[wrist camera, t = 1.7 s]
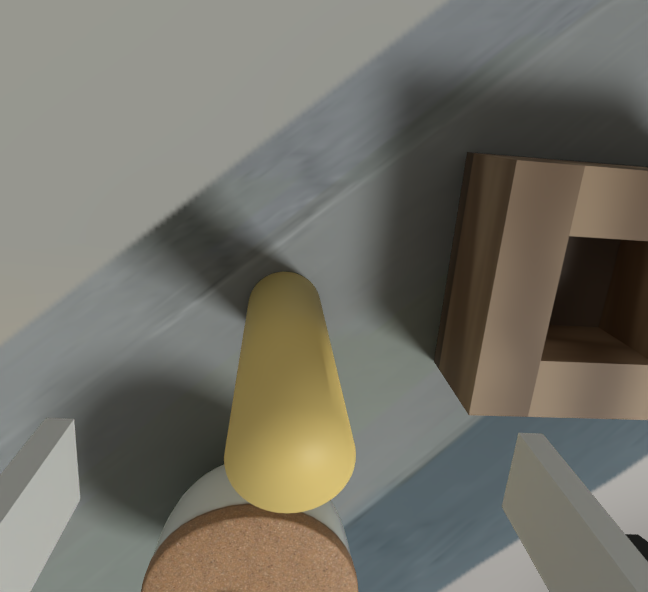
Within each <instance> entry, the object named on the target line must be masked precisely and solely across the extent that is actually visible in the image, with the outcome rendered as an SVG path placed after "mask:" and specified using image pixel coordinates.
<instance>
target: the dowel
mask: <svg viewBox="0 0 648 592" xmlns="http://www.w3.org/2000/svg"><path fill="white" fill-rule="evenodd" d="M355 460H356V451H355V444H354V440H353V436H352V432H351V427H350V423H349V419H348V415H347V411H346V406H345V402H344V398H343V394H342V390H341V386H340V381H339V377H338V373H337V369H336V365H335V360H334V356H333V352H332V348H331V344H330V340H329V335H328V331H327V327H326V323H325V319H324V314H323V310H322V306H321V302H320V298H319V294H318V292H317V290H316V288H315V287H314V286H313V284H312V283H311V282H310V281H309V280H308V279H306V278H305V277H303V276H301V275H299V274H296V273H292V272H277V273H273V274H270V275H268V276H266V277H265V278H263V279H262V280H260V281H259V282H258V283H257V284H256V286H255V287H254V288H253V290H252V292H251V295H250V298H249V303H248V309H247V315H246V321H245V328H244V334H243V340H242V347H241V353H240V359H239V365H238V372H237V378H236V384H235V390H234V397H233V403H232V409H231V415H230V422H229V428H228V434H227V440H226V447H225V454H224V466H225V471H226V474H227V477H228V480H229V481H230V483H231V485H232V487H233V488H234V489H235V491H236V492H237V493H238V494H239V495H240V496H241V497H242V498H244V499H245V500H246V501H248V502H249V503H251V504H252V505H254V506H256V507H259V508H261V509H264V510H267V511H271V512H277V513H298V512H304V511H308V510H311V509H314V508H317V507H319V506H321V505H323V504H325V503H327V502H328V501H330V500H331V499H333V498H334V497H335V496H336V495H337V494H338V493H339V492H340V491H341V490H342V489H343V488H344V487H345V485H346V484H347V482H348V481H349V479H350V477H351V475H352V472H353V469H354V466H355Z"/></svg>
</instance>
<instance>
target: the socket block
mask: <svg viewBox="0 0 648 592" xmlns="http://www.w3.org/2000/svg"><path fill="white" fill-rule="evenodd" d="M434 362H435V364H436V365H437V367H438V368H439V370H440V372H441V373H442V375H443V376H444V378H445V379H446V381H447V382H448V384H449V385H450V387H451V388H452V390H453V391H454V393H455V395H456V396H457V398H458V399H459V401H460V402H461V404H462V405H463V407H464V408H465V410H466V411H467V413H468V414H469V415H486V416H522V417H559V418H595V419H632V420H648V167H641V166H629V165H617V164H605V163H593V162H580V161H568V160H556V159H544V158H532V157H519V156H507V155H495V154H483V153H471V152H467V157H466V163H465V170H464V176H463V182H462V188H461V195H460V201H459V207H458V213H457V220H456V226H455V232H454V239H453V245H452V251H451V257H450V264H449V270H448V276H447V282H446V289H445V295H444V301H443V308H442V314H441V320H440V326H439V333H438V339H437V345H436V351H435V358H434Z"/></svg>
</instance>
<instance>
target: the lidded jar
mask: <svg viewBox="0 0 648 592" xmlns="http://www.w3.org/2000/svg"><path fill="white" fill-rule="evenodd" d="M141 592H358V583H357V576H356V572H355V568H354V565H353V561H352V558H351V555H350V550H349V546H348V541H347V538H346V534H345V531H344V528H343V525H342V522H341V519H340V517H339V515H338V513H337V511H336V509H335V507H334V505H333V503H332V501H331V500H330V501H328V502H327V503H325V504H323V505H321V506H319V507H317V508H314V509H311V510H308V511H304V512H298V513H277V512H271V511H267V510H264V509H261V508H259V507H256V506H254V505H252V504H251V503H249V502H248V501H246V500H245V499H244V498H242V497H241V496H240V495H239V494H238V493H237V492H236V491H235V489H234V488H233V487H232V485H231V483H230V481H229V480H228V477H227V474H226V471H225V466H224V465H222V466H219V467H217V468H215V469H213V470H212V471H210V472H208V473H207V474H205V475H204V476H202V477H201V478H200V479H199V480H198V481H196V482H195V483H194V484H193V485H192V486H191V487H190V488H189V489H188V490H187V491H186V492H185V494H184V495H183V496H182V497H181V498H180V500H179V502H178V503H177V505H176V506H175V508H174V509H173V511H172V512H171V514H170V516H169V517H168V519H167V522H166V524H165V526H164V528H163V530H162V533H161V535H160V538H159V540H158V543H157V546H156V549H155V552H154V555H153V557H152V559H151V561H150V564H149V566H148V569H147V571H146V574H145V577H144V580H143V584H142V589H141Z"/></svg>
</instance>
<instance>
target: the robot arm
mask: <svg viewBox="0 0 648 592" xmlns="http://www.w3.org/2000/svg"><path fill="white" fill-rule="evenodd" d="M79 501H80V489H79V476H78V463H77V450H76V437H75V424H74V419H61V418H46V419H45V420H44V421H43V422H42V424H41V425H40V426H39V427H38V428H37V430H36V431H35V432H34V433H33V435H32V436H31V437H30V438H29V440H28V441H27V442H26V443H25V445H24V446H23V447H22V448H21V450H20V451H19V452H18V453H17V455H16V456H15V457H14V458H13V460H12V461H11V462H10V463H9V465H8V466H7V467H6V468H5V470H4V471H3V472H2V473H1V475H0V592H30V591H31V590H32V588H33V586H34V584H35V582H36V580H37V579H38V577H39V575H40V573H41V571H42V569H43V567H44V566H45V564H46V562H47V560H48V558H49V556H50V554H51V553H52V551H53V549H54V547H55V545H56V543H57V541H58V540H59V538H60V536H61V534H62V532H63V530H64V529H65V527H66V525H67V523H68V521H69V519H70V517H71V516H72V514H73V512H74V510H75V508H76V506H77V504H78V503H79ZM502 508H503V510H504V512H505V513H506V515H507V517H508V519H509V521H510V522H511V524H512V526H513V528H514V529H515V531H516V533H517V535H518V537H519V538H520V540H521V542H522V544H523V545H524V547H525V549H526V551H527V553H528V554H529V556H530V558H531V560H532V562H533V563H534V565H535V567H536V569H537V570H538V572H539V574H540V576H541V578H542V579H543V581H544V583H545V585H546V586H547V588H548V590H549V592H648V542H647V541H646V540H645V539H643V538H642V537H641V536H639V535H631V534H629V535H628V534H624V532H623V531H622V530H621V529H620V527H619V526H618V525H617V524H616V523H615V521H614V520H613V519H612V518H611V517H610V515H609V514H608V513H607V512H606V510H605V509H604V508H603V507H602V506H601V504H600V503H599V502H598V501H597V499H596V498H595V497H594V496H593V495H592V493H591V492H590V491H589V490H588V489H587V487H586V486H585V485H584V484H583V482H582V481H581V480H580V479H579V478H578V476H577V475H576V474H575V473H574V471H573V470H572V469H571V468H570V467H569V465H568V464H567V463H566V462H565V461H564V459H563V458H562V457H561V456H560V454H559V453H558V452H557V451H556V450H555V448H554V447H553V446H552V445H551V444H550V442H549V441H548V440H547V439H546V437H545V436H544V435H543V434H534V433H518V438H517V442H516V447H515V451H514V456H513V460H512V464H511V469H510V473H509V478H508V482H507V486H506V491H505V495H504V500H503V504H502Z"/></svg>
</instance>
